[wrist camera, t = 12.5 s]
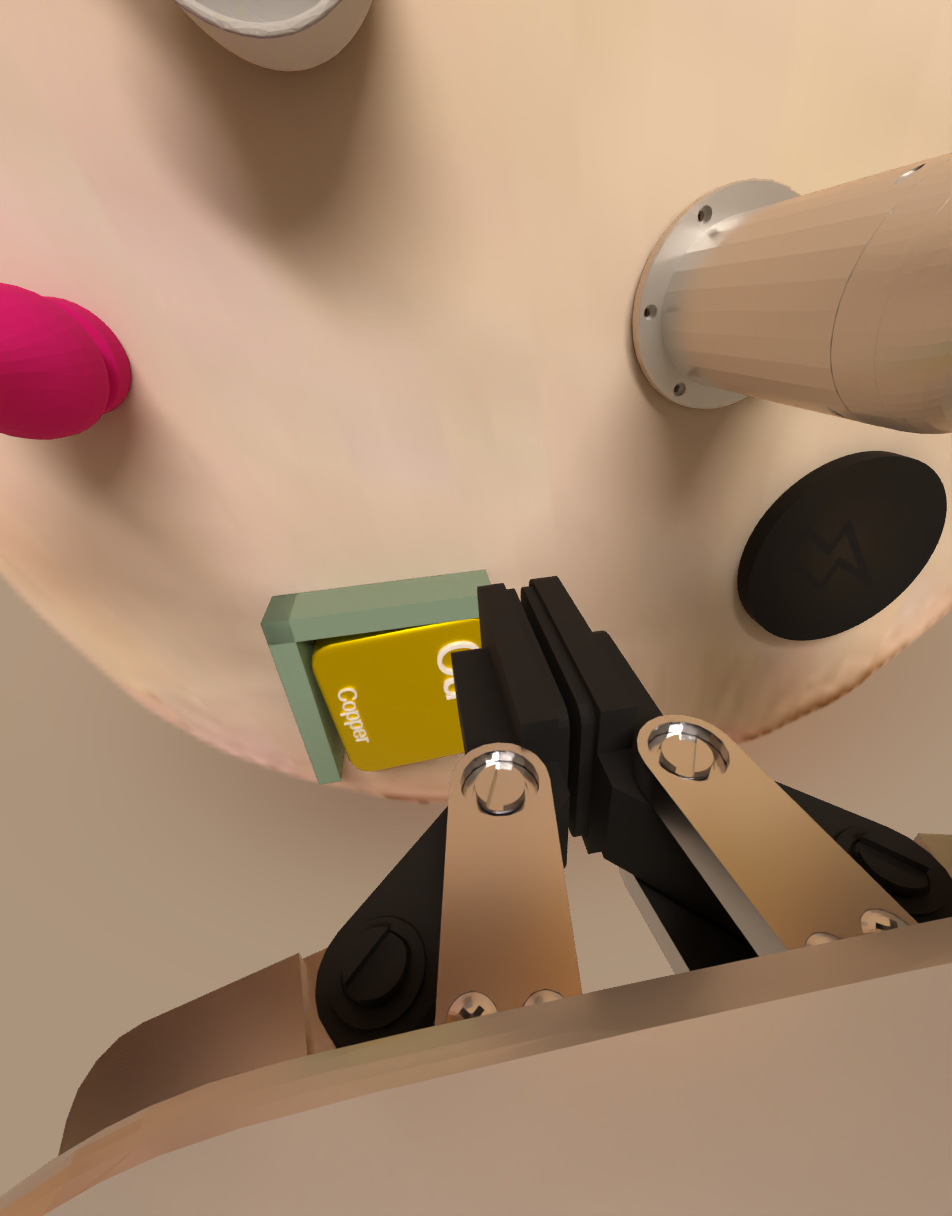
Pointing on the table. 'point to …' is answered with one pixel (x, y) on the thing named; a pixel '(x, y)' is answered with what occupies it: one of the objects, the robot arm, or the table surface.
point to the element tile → (395, 691)
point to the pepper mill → (55, 366)
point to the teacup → (280, 28)
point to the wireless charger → (841, 544)
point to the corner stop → (346, 614)
